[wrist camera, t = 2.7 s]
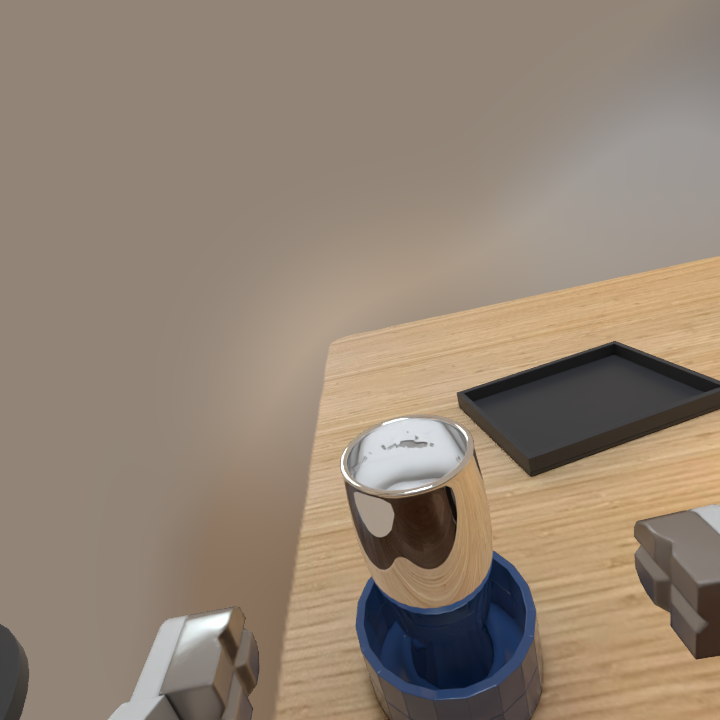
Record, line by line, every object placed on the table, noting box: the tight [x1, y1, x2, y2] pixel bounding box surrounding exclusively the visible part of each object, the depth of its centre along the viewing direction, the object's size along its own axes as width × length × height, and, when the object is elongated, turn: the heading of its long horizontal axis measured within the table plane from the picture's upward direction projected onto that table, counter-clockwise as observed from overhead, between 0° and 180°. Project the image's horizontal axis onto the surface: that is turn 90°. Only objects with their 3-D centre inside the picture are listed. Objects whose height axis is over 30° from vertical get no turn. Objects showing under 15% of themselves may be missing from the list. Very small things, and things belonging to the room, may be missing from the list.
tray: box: [457, 341, 720, 476], centre depth 49 cm, size 21×15×2 cm
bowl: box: [356, 551, 543, 720], centre depth 27 cm, size 10×10×4 cm
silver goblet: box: [340, 415, 506, 690], centre depth 25 cm, size 7×7×15 cm
